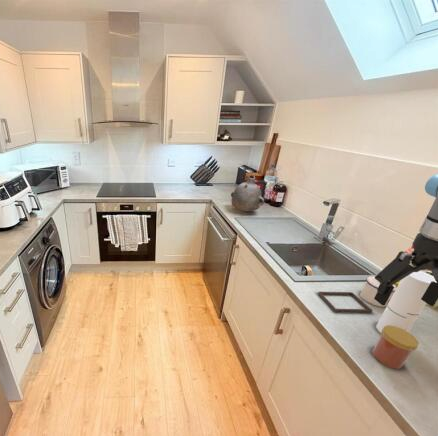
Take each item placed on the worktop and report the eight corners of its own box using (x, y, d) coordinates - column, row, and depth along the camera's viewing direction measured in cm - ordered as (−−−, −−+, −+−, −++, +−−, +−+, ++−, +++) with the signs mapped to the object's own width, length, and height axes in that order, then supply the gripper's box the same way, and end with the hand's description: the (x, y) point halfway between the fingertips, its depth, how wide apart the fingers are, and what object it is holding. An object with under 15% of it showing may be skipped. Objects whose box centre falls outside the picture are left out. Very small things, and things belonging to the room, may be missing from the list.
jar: (386, 350, 77) (400, 327, 73) (407, 370, 71) (423, 347, 67) (365, 349, 78) (378, 326, 73) (384, 370, 71) (399, 346, 67)
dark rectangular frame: (350, 296, 101) (352, 292, 100) (370, 314, 91) (372, 310, 91) (317, 295, 101) (318, 291, 100) (333, 313, 92) (335, 309, 91)
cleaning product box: (258, 201, 213) (262, 179, 205) (262, 204, 204) (266, 182, 196) (239, 201, 213) (243, 179, 205) (242, 204, 205) (246, 182, 197)
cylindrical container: (407, 345, 79) (445, 286, 69) (381, 338, 81) (414, 280, 71) (395, 328, 85) (429, 272, 75) (371, 323, 88) (400, 267, 78)
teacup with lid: (392, 311, 93) (405, 287, 88) (363, 304, 96) (374, 281, 91) (378, 292, 103) (389, 270, 99) (353, 286, 106) (362, 265, 102)
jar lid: (398, 329, 74) (401, 325, 73) (423, 350, 67) (426, 346, 67) (374, 328, 74) (377, 325, 73) (397, 350, 67) (399, 346, 67)
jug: (227, 214, 185) (232, 176, 173) (229, 205, 203) (234, 170, 191) (261, 219, 177) (269, 179, 164) (260, 209, 195) (267, 173, 183)
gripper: (404, 244, 56) (370, 311, 65) (510, 245, 56) (462, 312, 64) (376, 230, 63) (349, 292, 72) (471, 231, 63) (432, 293, 71)
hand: (403, 302), depth 68 cm, fingers open, 13 cm apart
